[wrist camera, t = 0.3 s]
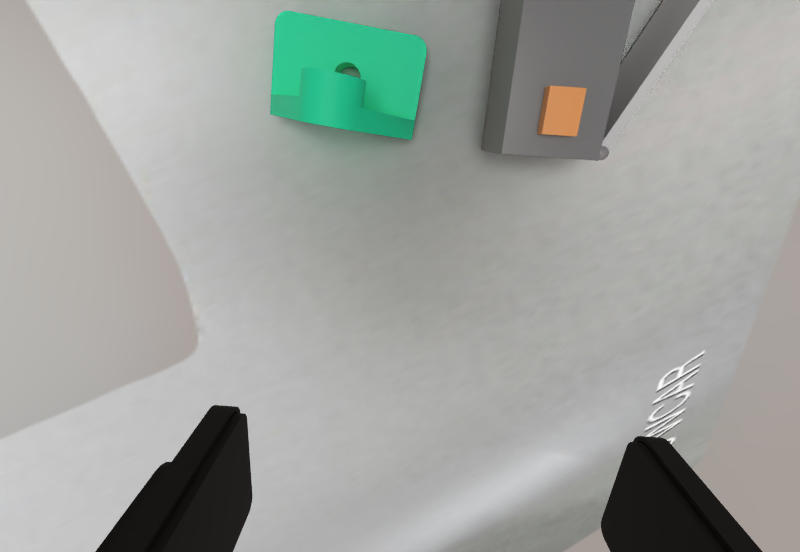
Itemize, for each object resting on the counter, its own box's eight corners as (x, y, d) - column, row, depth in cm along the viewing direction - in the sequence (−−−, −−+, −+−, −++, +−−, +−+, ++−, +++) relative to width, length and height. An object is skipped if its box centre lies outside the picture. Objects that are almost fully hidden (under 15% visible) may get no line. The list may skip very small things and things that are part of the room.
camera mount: (427, 45, 33) (436, 8, 24) (411, 139, 36) (412, 141, 26) (285, 17, 33) (234, -31, 23) (279, 115, 35) (231, 108, 26)
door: (671, -17, 31) (735, -53, 25) (685, -7, 31) (751, -40, 25) (560, 152, 36) (592, 155, 30) (573, 159, 36) (607, 165, 30)
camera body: (514, -104, 30) (557, -200, 21) (608, -97, 30) (688, -190, 21) (481, 149, 36) (504, 154, 27) (559, 155, 36) (606, 161, 27)
